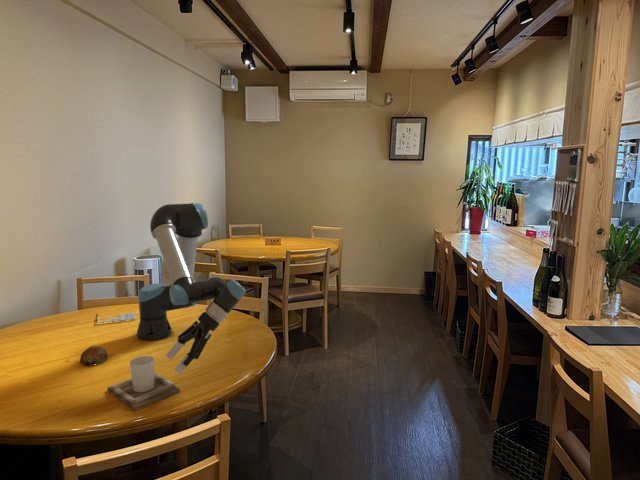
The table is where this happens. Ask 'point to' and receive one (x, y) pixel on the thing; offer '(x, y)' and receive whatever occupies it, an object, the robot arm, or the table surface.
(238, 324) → the table surface
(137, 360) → the white cup
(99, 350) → the bread roll
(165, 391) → the keeper board
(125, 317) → the snack bag
